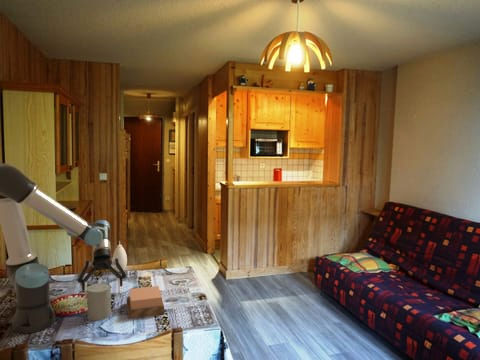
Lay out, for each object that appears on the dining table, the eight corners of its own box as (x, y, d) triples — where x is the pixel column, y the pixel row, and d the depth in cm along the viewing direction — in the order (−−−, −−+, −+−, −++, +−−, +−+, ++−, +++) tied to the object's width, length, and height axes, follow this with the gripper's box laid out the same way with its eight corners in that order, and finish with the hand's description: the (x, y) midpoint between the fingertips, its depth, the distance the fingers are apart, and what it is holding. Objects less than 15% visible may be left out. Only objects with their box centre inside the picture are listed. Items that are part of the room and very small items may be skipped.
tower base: (128, 320, 155) (128, 311, 155) (126, 305, 169) (126, 296, 169) (164, 315, 160) (164, 306, 160) (159, 300, 174) (159, 292, 174)
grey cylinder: (101, 308, 164) (100, 281, 163) (116, 313, 160) (115, 286, 158) (82, 316, 156) (81, 288, 155) (97, 322, 151) (96, 293, 150)
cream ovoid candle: (129, 269, 213) (129, 239, 211) (123, 274, 205) (123, 243, 203) (116, 268, 214) (115, 238, 212) (110, 273, 206) (109, 242, 204)
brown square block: (131, 310, 156) (130, 301, 156) (129, 297, 168) (129, 289, 168) (162, 306, 160) (162, 297, 160) (158, 294, 173) (158, 285, 172)
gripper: (129, 252, 179) (132, 295, 167) (73, 257, 170) (71, 302, 158) (130, 245, 173) (133, 288, 161) (72, 249, 165) (70, 295, 152)
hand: (102, 295), depth 160 cm, fingers open, 13 cm apart
